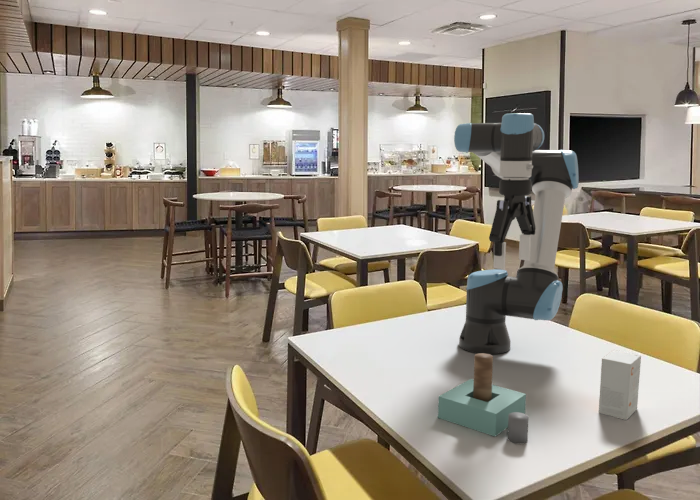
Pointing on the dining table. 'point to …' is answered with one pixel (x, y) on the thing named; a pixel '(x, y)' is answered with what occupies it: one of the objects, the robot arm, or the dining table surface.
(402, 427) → the dining table surface
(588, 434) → the dining table surface
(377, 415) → the dining table surface
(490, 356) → the walnut dowel
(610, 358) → the small box
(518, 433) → the charcoal dowel
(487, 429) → the hole block
